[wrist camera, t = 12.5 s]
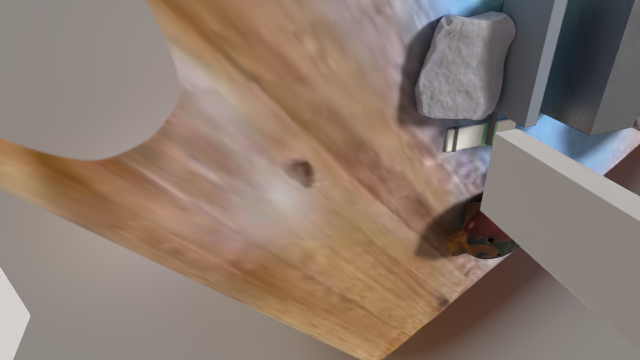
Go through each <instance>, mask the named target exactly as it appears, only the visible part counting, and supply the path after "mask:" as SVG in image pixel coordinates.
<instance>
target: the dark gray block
mask: <svg viewBox="0 0 640 360" xmlns="http://www.w3.org/2000/svg"><path fill="white" fill-rule="evenodd" d="M639 109H640V0H568V1H567V5H566V9H565V13H564V17H563V20H562V24H561V28H560V32H559V36H558V40H557V44H556V48H555V52H554V56H553V60H552V64H551V68H550V72H549V76H548V80H547V84H546V88H545V91H544V95H543V99H542V103H541V107H540V111H539V112H541V113H543V114H545V115H547V116H549V117H551V118H553V119H556V120H558V121H560V122H562V123H564V124H566V125H568V126H570V127H572V128H574V129H576V130H579V131H581V132H583V133H585V134H587V135H589V136H591V135H596V134H601V133H606V132H611V131H616V130H621V129H626V128H631V127H633V125H634V122H635V120H636V117H637V115H638V112H639Z"/></svg>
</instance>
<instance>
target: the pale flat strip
mask: <svg viewBox="0 0 640 360" xmlns="http://www.w3.org/2000/svg"><path fill="white" fill-rule="evenodd" d="M488 123H489V122H483V123H481V124H476V125H470V126H465V127H459V128H457V127H455V128H453V129H448V132H447V140H446V148H445V151H446V152H449V151H452V152H455V151H456V150H460V149H465V148H470V147H475V146H486V144H485V139H486V133H487V128H488ZM515 126H516V123H515V122H514V121H512V120H510V119H504V120H498V121H496V124H495V129H494V134H493V139H492V144H493V141H494V136H495V133H497V132H502V131H508V130H513V129H515Z"/></svg>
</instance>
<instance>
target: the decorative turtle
mask: <svg viewBox="0 0 640 360" xmlns="http://www.w3.org/2000/svg"><path fill="white" fill-rule="evenodd" d="M480 207H481V202H470V203H467V204H466V205H465V207H464V212H465V222H464V224H463V226H462V227H461V228H460V229H459V230H457V231H456V232H454V233H453V234H451V235H450V236H448V237H447V238H446V239H445V245H446V247H447V250H448V252H449V253H450V254H451V255H452V256H458V255H461V254H465V253H468V254H470V255H472V256H474V257H476V258H480V259H494V258H499V257H502V256H505V255H507V254H509V253H511V252H513V251H515V250H516V249H517V248H519V247H520V246H519V245H518V244H517V243H516V242H515V241H514V240H513V239H511V238H510V237H509V236H508V235H507V234H506V233H505V232H504V231H503V230H501V229H500V228H499V227H498V226H497V225H496V224H495V223H494V222H493V221H491V220H490V219H489V218H488V217H487V216H486V215H485V214H484V213H483V212H481V211H480Z"/></svg>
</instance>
